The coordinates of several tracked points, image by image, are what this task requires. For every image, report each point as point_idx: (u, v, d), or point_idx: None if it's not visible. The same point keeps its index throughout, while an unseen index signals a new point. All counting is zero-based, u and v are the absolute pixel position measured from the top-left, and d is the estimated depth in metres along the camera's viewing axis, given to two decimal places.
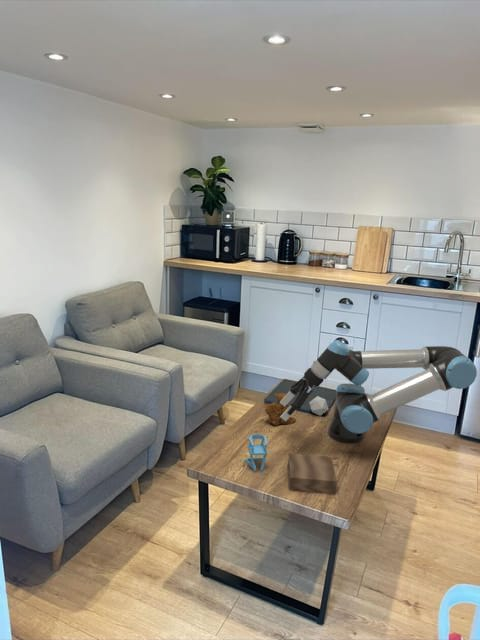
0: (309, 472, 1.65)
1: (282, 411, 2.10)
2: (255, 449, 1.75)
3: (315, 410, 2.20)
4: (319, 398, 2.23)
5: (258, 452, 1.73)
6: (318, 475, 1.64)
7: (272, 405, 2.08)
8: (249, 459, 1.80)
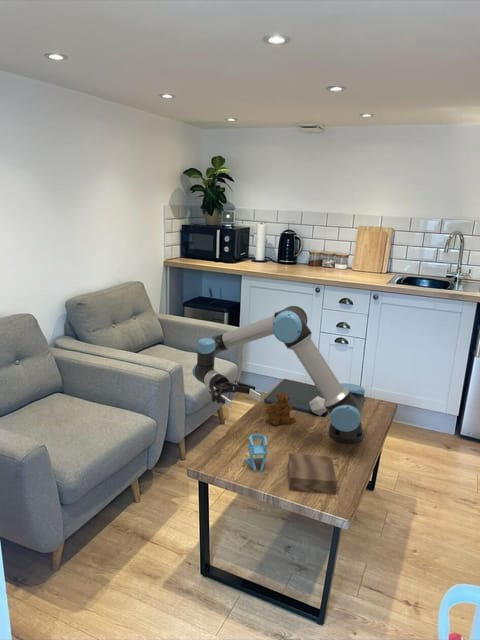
0: (309, 472, 1.65)
1: (282, 411, 2.10)
2: (255, 449, 1.75)
3: (315, 410, 2.20)
4: (319, 398, 2.23)
5: (258, 452, 1.73)
6: (318, 475, 1.64)
7: (272, 405, 2.08)
8: (249, 459, 1.80)
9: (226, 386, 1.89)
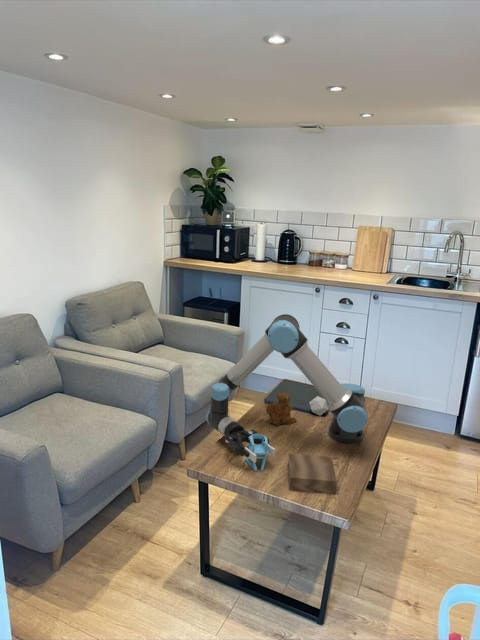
0: (309, 472, 1.65)
1: (283, 411, 2.10)
2: (256, 448, 1.75)
3: (315, 410, 2.20)
4: (319, 398, 2.23)
5: (259, 452, 1.73)
6: (318, 475, 1.64)
7: (273, 405, 2.08)
8: (249, 459, 1.80)
9: (241, 435, 1.83)
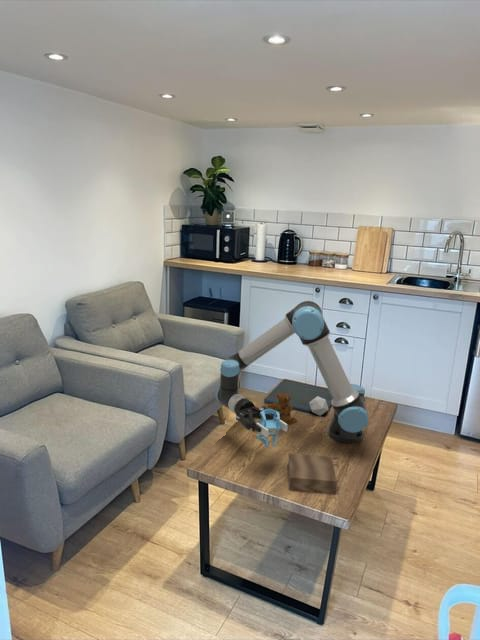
0: (309, 472, 1.65)
1: (283, 411, 2.10)
2: (267, 424, 1.71)
3: (315, 410, 2.20)
4: (319, 398, 2.23)
5: (270, 427, 1.68)
6: (318, 475, 1.64)
7: (273, 405, 2.08)
8: (261, 435, 1.75)
9: (252, 412, 1.78)
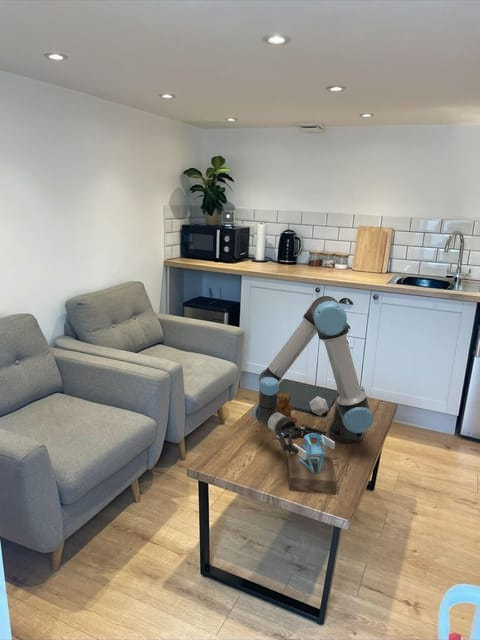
0: (309, 472, 1.65)
1: (284, 411, 2.10)
2: (312, 449, 1.67)
3: (315, 410, 2.20)
4: (319, 398, 2.23)
5: (316, 452, 1.65)
6: (318, 475, 1.64)
7: None
8: (303, 460, 1.72)
9: (295, 432, 1.74)
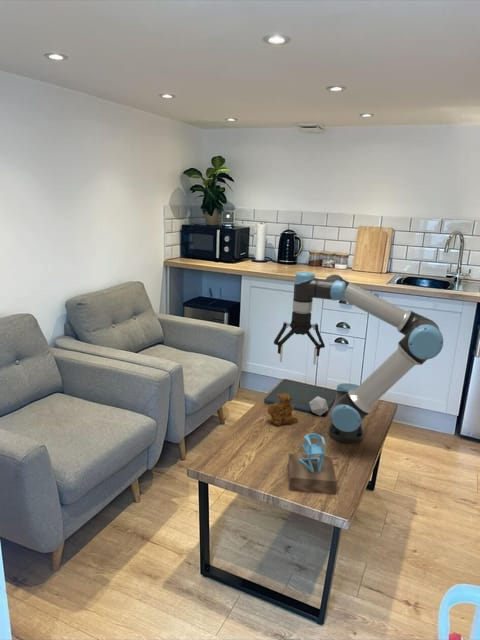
0: (309, 472, 1.65)
1: (284, 411, 2.10)
2: (312, 449, 1.67)
3: (315, 410, 2.20)
4: (319, 398, 2.23)
5: (316, 452, 1.65)
6: (318, 475, 1.64)
7: (275, 405, 2.08)
8: (303, 460, 1.72)
9: (299, 331, 1.85)
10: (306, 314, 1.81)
